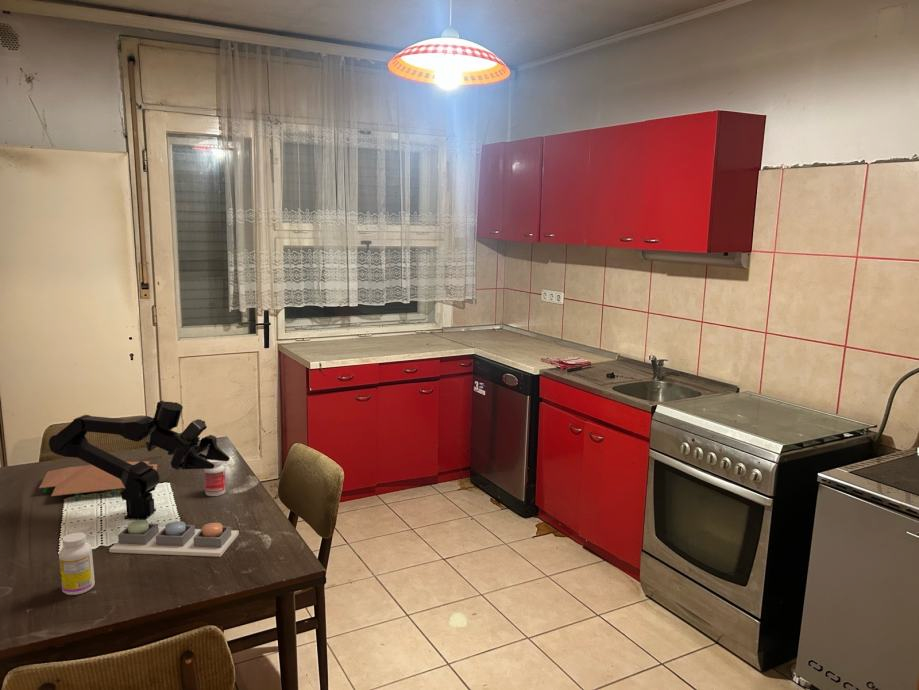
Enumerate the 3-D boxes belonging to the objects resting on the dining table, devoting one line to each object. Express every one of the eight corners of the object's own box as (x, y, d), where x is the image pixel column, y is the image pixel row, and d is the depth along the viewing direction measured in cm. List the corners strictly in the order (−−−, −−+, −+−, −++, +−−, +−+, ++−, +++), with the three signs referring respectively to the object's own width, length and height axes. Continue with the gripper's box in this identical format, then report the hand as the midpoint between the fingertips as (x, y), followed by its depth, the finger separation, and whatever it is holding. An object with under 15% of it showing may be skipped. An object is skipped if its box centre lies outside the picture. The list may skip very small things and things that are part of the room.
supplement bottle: (70, 581, 161) (66, 530, 159) (99, 580, 162) (95, 530, 159) (56, 596, 154) (51, 543, 152) (87, 595, 155) (82, 543, 153)
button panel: (109, 552, 175) (108, 539, 175) (135, 530, 188) (134, 518, 187) (220, 556, 174) (219, 544, 174) (238, 534, 187) (238, 522, 186)
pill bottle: (228, 494, 214) (226, 460, 212) (208, 498, 210) (206, 464, 209) (222, 487, 219) (221, 455, 217) (203, 491, 216) (201, 458, 214)
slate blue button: (162, 537, 178) (161, 529, 178) (170, 529, 183) (170, 520, 183) (180, 538, 178) (180, 529, 178) (189, 529, 183) (188, 521, 183)
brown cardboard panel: (156, 494, 214) (154, 469, 213) (34, 508, 202) (32, 482, 201) (158, 469, 235) (157, 446, 234) (48, 480, 223) (46, 457, 221)
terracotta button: (199, 539, 178) (199, 530, 177) (207, 530, 183) (206, 522, 182) (218, 539, 178) (218, 531, 177) (225, 531, 183) (225, 522, 182)
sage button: (124, 536, 179) (124, 527, 178) (134, 527, 184) (133, 519, 183) (143, 536, 178) (142, 528, 178) (152, 528, 183) (152, 520, 183)
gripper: (163, 420, 182) (215, 443, 180) (197, 410, 200) (245, 430, 199) (149, 458, 183) (201, 481, 181) (185, 445, 201) (232, 465, 200)
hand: (221, 463), depth 190 cm, fingers open, 9 cm apart
